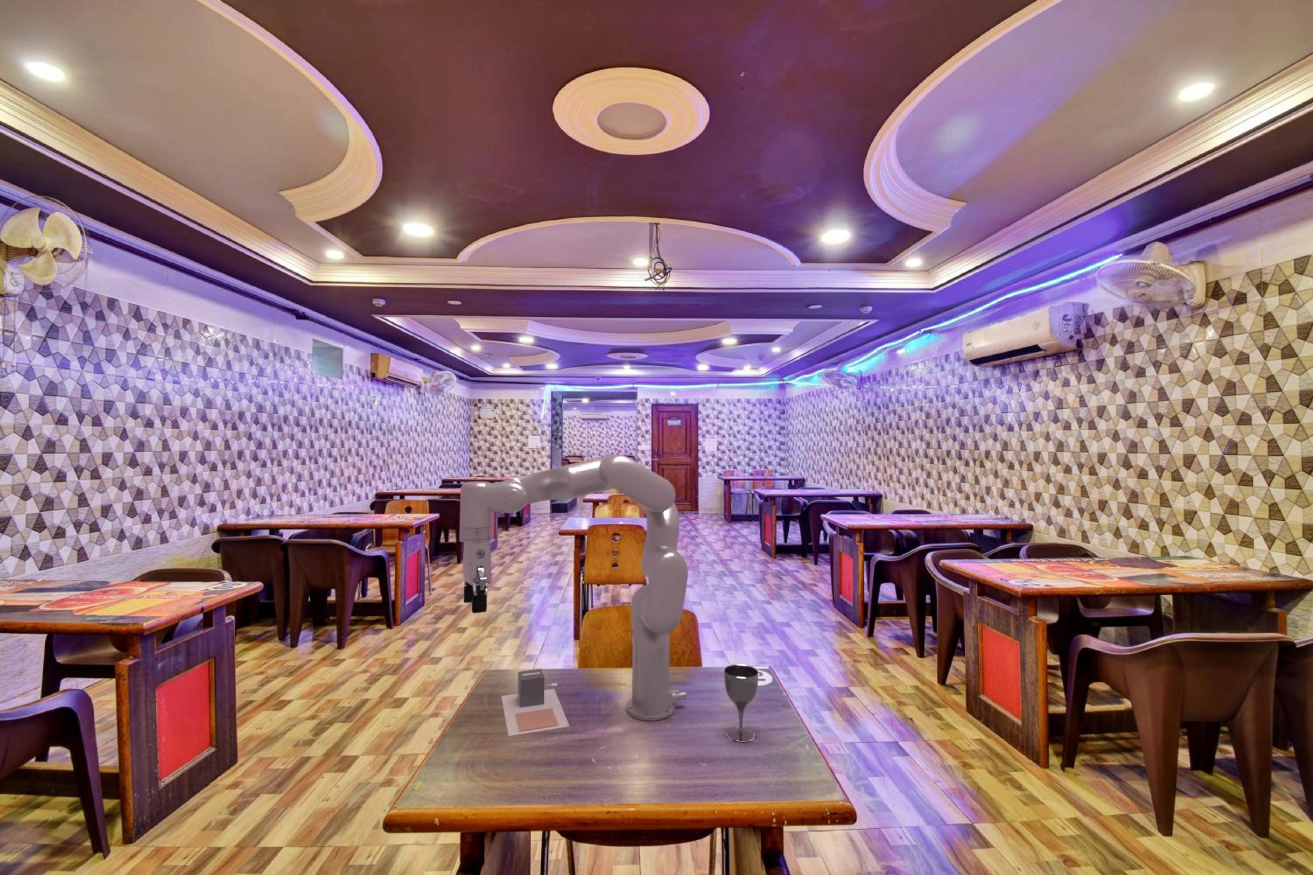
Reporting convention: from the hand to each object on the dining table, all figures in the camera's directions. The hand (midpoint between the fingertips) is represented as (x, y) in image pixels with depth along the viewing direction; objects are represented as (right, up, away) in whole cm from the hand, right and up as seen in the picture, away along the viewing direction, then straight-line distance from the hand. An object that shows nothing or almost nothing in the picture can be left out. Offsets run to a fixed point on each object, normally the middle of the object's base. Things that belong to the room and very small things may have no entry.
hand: (474, 606), depth 131 cm
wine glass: (+63, -31, 0) cm, 70 cm away
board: (+12, -30, +9) cm, 33 cm away
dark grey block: (+10, -29, +14) cm, 33 cm away
